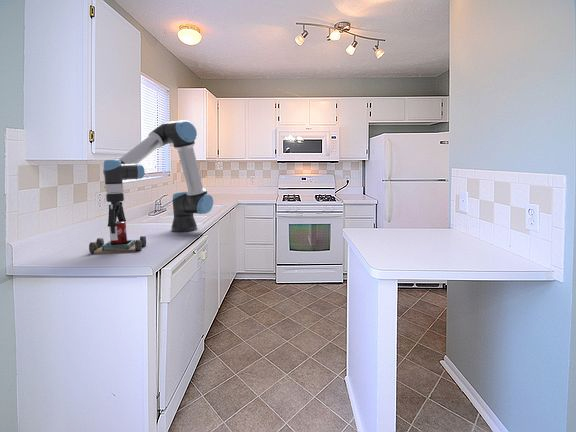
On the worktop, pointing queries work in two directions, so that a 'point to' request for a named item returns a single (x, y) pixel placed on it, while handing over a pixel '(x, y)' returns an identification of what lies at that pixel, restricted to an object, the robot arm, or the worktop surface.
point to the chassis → (116, 246)
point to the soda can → (120, 234)
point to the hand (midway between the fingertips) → (118, 237)
